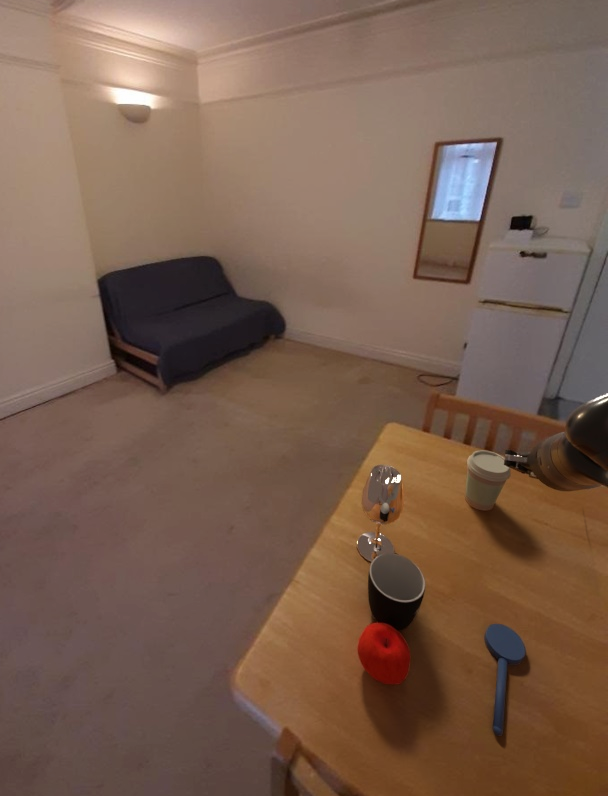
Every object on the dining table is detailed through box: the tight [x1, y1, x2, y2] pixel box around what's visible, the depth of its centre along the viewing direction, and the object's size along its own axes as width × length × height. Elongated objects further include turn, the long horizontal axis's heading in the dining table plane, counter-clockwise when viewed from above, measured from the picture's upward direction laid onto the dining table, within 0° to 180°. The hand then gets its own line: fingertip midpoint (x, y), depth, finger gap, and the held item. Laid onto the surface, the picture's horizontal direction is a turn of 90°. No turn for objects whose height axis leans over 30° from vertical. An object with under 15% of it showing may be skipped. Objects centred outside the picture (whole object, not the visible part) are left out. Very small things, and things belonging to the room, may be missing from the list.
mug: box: [367, 552, 426, 632], centre depth 71 cm, size 12×9×10 cm
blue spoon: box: [483, 623, 527, 737], centre depth 62 cm, size 16×6×1 cm, turn 147°
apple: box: [357, 622, 411, 685], centre depth 63 cm, size 8×8×7 cm
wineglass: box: [356, 464, 405, 563], centre depth 80 cm, size 8×8×20 cm
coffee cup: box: [464, 449, 511, 511], centre depth 92 cm, size 8×8×12 cm
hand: (533, 472), depth 71 cm, fingers closed
